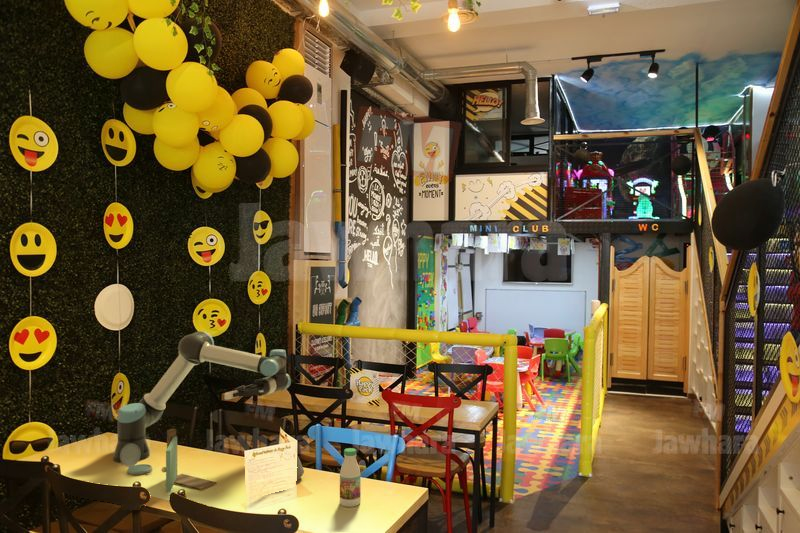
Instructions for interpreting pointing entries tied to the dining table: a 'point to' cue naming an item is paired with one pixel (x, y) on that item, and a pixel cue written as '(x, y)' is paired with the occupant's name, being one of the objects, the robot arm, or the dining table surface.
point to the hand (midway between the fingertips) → (225, 396)
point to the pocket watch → (133, 460)
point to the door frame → (186, 479)
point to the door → (171, 464)
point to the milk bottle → (350, 480)
